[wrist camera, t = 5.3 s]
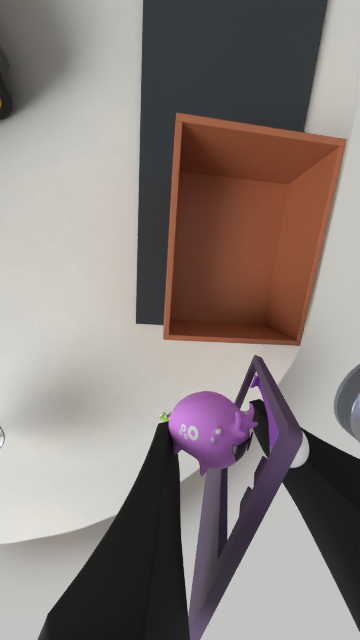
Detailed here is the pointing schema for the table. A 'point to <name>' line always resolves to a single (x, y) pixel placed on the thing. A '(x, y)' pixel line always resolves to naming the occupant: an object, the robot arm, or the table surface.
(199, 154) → the bin
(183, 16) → the mat
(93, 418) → the table surface
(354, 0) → the table surface
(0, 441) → the wineglass
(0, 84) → the toy car
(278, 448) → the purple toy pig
